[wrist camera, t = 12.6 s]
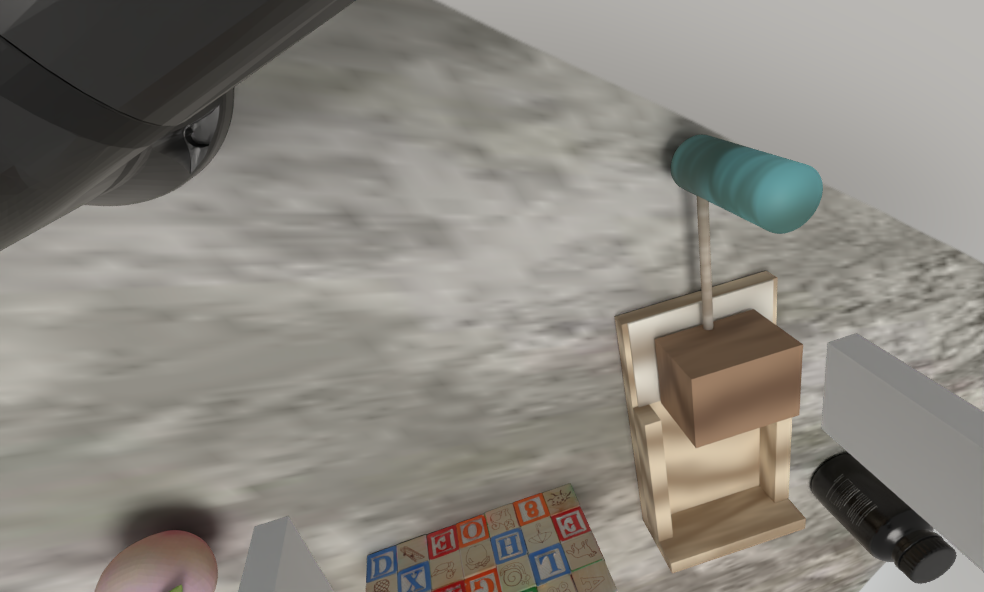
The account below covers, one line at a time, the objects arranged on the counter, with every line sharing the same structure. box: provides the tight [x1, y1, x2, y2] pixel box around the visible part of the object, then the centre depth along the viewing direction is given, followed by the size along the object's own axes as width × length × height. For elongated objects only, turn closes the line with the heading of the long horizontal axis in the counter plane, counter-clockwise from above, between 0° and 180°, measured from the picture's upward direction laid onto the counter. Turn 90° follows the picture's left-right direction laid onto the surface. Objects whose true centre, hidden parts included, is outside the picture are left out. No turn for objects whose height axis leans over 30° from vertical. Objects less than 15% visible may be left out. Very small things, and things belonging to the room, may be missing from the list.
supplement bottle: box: [811, 454, 956, 583], centre depth 55 cm, size 7×7×12 cm
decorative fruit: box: [95, 530, 218, 592], centre depth 43 cm, size 9×8×10 cm
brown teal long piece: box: [655, 135, 823, 448], centre depth 39 cm, size 23×9×10 cm, turn 13°
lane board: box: [615, 271, 806, 573], centre depth 49 cm, size 26×14×6 cm, turn 13°
